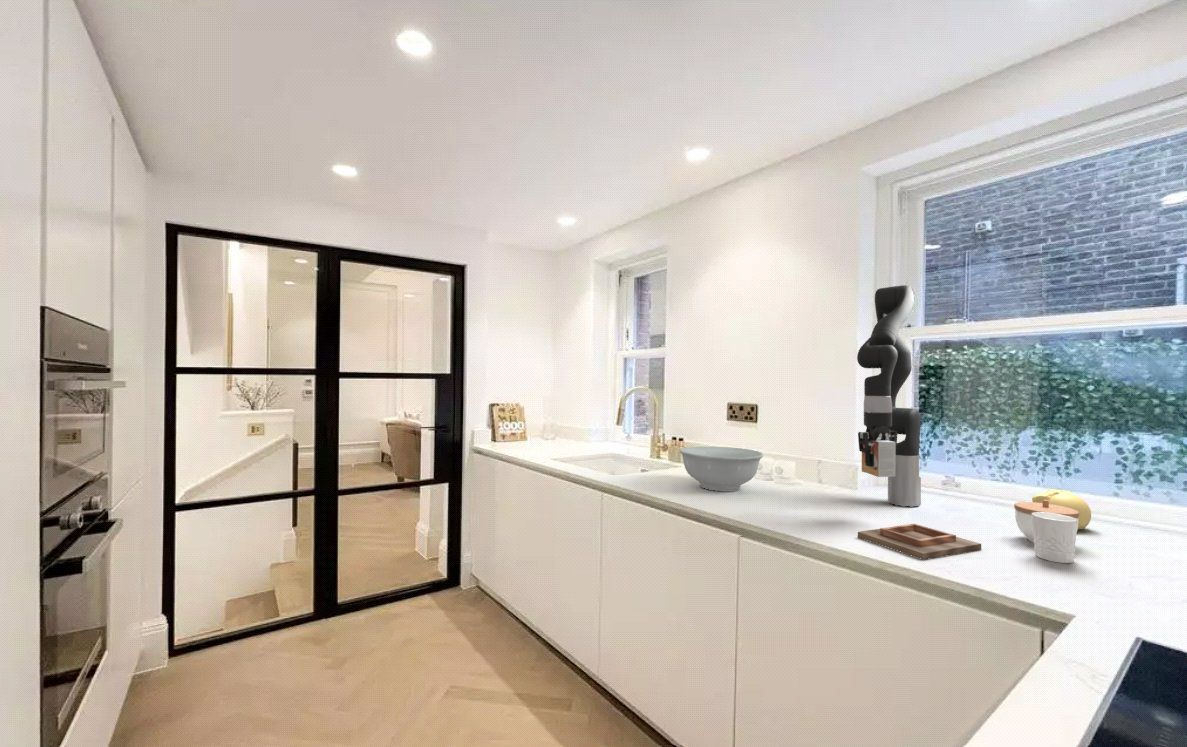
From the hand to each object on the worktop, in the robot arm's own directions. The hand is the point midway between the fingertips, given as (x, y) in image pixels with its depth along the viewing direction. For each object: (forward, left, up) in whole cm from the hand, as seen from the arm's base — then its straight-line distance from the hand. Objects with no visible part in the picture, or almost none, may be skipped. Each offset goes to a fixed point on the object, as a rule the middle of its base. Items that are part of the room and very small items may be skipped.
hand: (878, 465), depth 149 cm
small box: (0, 0, -3) cm, 3 cm away
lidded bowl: (-24, +30, -17) cm, 42 cm away
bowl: (+17, -56, -17) cm, 61 cm away
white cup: (-11, +38, -17) cm, 43 cm away
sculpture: (-46, +23, -17) cm, 54 cm away
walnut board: (+10, +19, -17) cm, 27 cm away
